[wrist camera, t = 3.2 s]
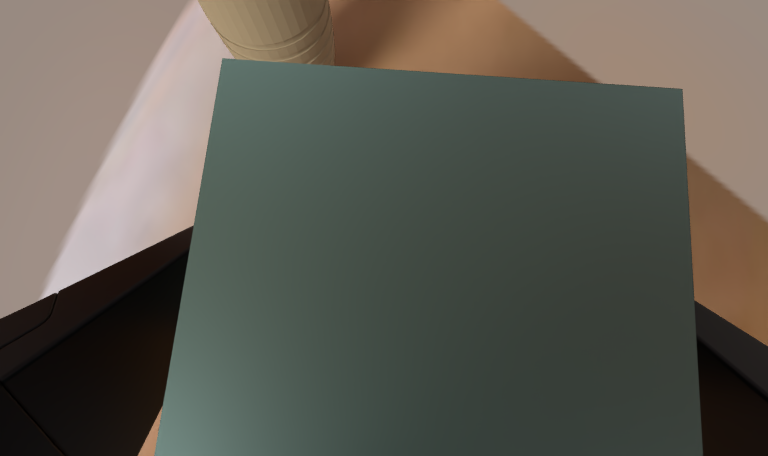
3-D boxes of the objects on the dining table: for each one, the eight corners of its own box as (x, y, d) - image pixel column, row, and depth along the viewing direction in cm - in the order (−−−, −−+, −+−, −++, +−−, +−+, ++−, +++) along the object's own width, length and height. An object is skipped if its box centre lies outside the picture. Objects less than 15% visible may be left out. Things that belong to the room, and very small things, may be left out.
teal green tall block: (453, 365, 16) (846, 788, 2) (332, 355, 16) (1, 687, 2) (459, 245, 17) (766, 14, 3) (344, 236, 17) (154, -24, 3)
